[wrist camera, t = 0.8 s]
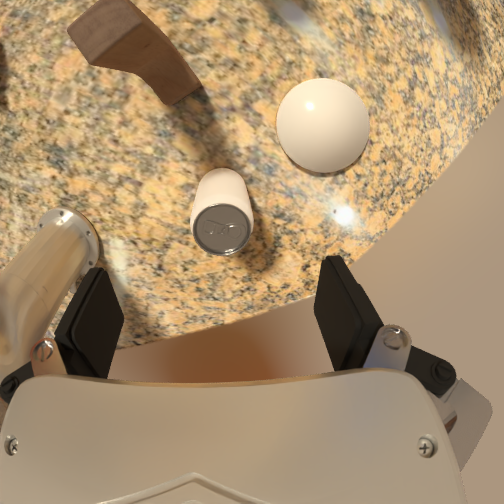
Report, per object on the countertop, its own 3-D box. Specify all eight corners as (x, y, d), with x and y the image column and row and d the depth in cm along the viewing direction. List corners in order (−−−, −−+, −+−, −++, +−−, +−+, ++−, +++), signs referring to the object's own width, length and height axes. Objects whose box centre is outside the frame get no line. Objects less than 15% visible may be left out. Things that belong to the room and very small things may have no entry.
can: (240, 215, 38) (247, 264, 28) (194, 207, 37) (184, 254, 27) (251, 172, 35) (263, 206, 25) (202, 163, 34) (193, 193, 24)
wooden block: (203, 85, 28) (180, 70, 13) (172, 105, 29) (122, 114, 14) (165, 35, 24) (114, -14, 9) (136, 55, 25) (63, 29, 10)
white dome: (350, 180, 37) (353, 183, 36) (264, 157, 34) (265, 159, 33) (376, 99, 30) (380, 99, 30) (289, 65, 28) (291, 64, 27)
